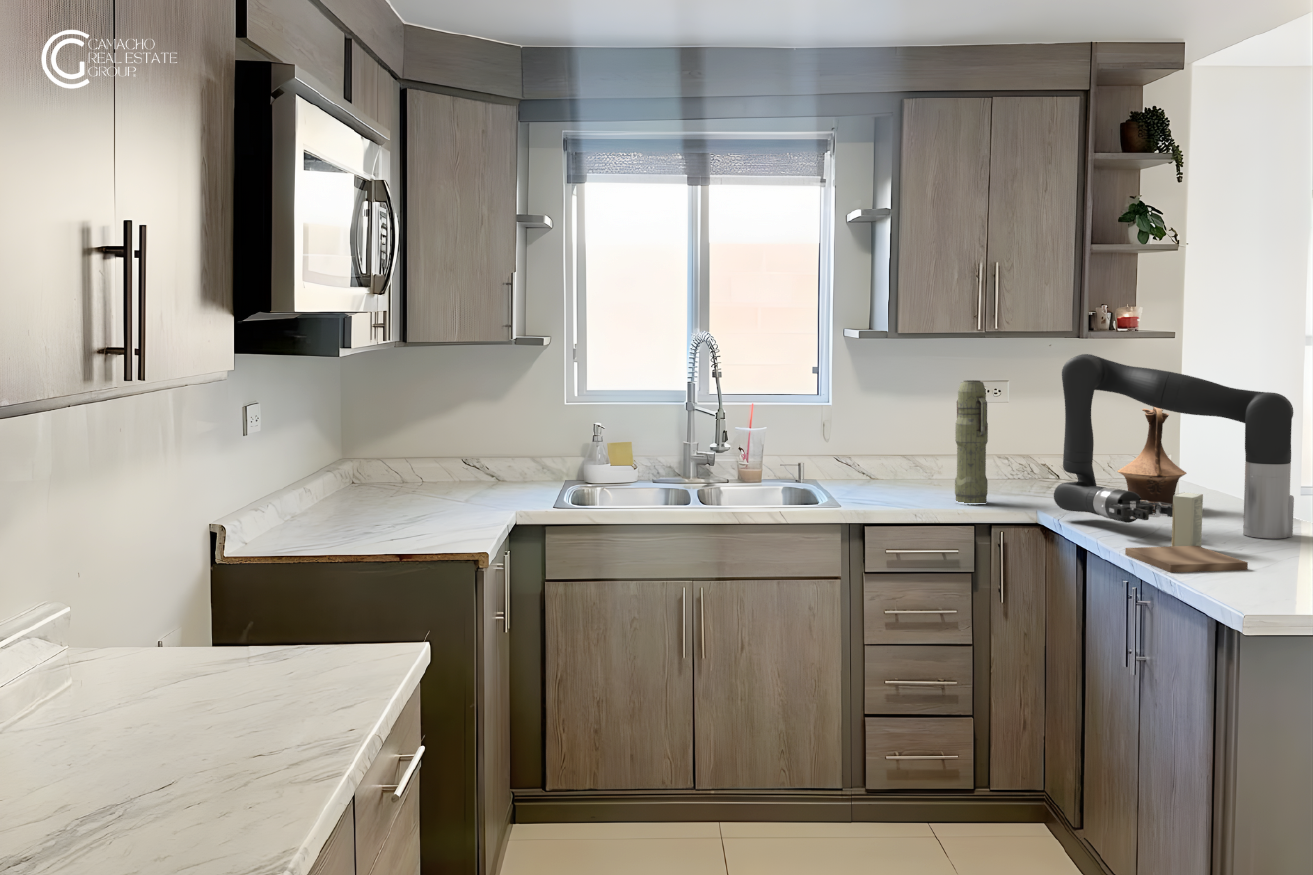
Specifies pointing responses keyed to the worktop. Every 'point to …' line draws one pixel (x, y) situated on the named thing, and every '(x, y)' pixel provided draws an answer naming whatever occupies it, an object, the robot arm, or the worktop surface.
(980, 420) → the thermos
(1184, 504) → the skincare box
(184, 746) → the worktop surface
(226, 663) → the worktop surface
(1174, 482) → the pitcher
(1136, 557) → the walnut board
